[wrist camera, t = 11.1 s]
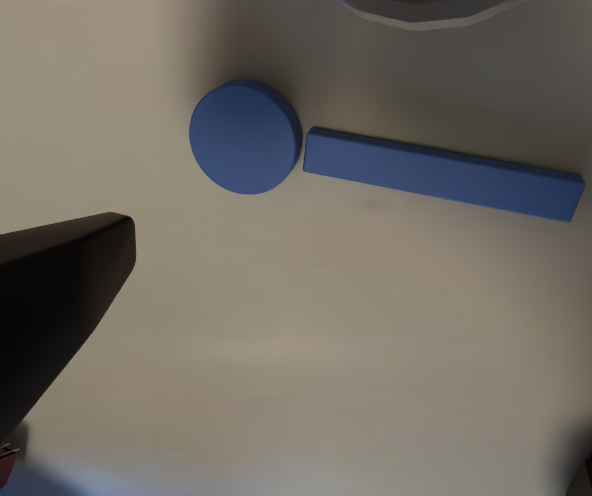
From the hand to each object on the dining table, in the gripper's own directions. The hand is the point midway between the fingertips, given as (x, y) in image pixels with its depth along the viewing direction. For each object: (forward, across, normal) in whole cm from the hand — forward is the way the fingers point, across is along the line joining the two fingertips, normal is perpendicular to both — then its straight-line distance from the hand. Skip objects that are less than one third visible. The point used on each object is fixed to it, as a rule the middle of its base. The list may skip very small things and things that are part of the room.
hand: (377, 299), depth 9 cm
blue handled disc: (+13, +2, +2) cm, 13 cm away
